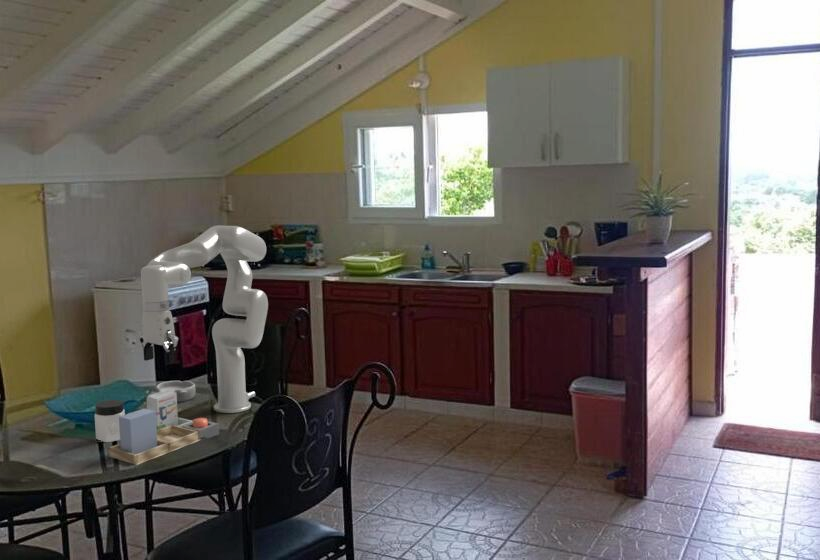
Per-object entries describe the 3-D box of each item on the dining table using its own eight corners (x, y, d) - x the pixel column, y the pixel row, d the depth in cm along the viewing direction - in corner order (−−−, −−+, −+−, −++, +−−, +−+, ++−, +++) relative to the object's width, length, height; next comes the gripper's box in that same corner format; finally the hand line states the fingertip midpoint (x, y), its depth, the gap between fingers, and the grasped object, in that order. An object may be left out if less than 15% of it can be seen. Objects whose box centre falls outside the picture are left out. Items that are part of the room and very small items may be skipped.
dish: (190, 403, 296) (189, 389, 296) (151, 403, 297) (150, 390, 296) (200, 391, 311) (200, 378, 310) (163, 392, 311) (163, 379, 310)
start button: (200, 429, 265) (200, 417, 264) (210, 431, 262) (210, 419, 262) (190, 433, 261) (189, 420, 260) (200, 435, 259) (199, 423, 258)
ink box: (168, 424, 273) (166, 389, 271) (179, 426, 271) (177, 391, 269) (147, 431, 266) (145, 396, 264) (158, 434, 263) (156, 398, 262)
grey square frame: (201, 429, 267) (200, 419, 267) (219, 434, 263) (218, 423, 263) (182, 437, 261) (181, 426, 260) (200, 441, 256) (199, 430, 256)
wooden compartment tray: (172, 436, 262) (171, 424, 261) (201, 443, 255) (200, 431, 254) (107, 459, 242) (106, 447, 241) (137, 468, 235) (136, 456, 234)
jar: (99, 447, 252) (97, 409, 250) (93, 440, 259) (90, 402, 257) (129, 441, 257) (127, 404, 255) (122, 434, 263) (120, 397, 262)
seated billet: (146, 447, 248) (144, 408, 247) (157, 450, 246) (155, 411, 244) (121, 456, 241) (118, 416, 239) (132, 459, 238) (130, 419, 236)
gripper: (185, 307, 249) (188, 363, 252) (147, 301, 258) (150, 355, 261) (165, 311, 243) (168, 368, 245) (127, 305, 252) (130, 360, 255)
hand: (159, 361), depth 253 cm, fingers open, 9 cm apart
